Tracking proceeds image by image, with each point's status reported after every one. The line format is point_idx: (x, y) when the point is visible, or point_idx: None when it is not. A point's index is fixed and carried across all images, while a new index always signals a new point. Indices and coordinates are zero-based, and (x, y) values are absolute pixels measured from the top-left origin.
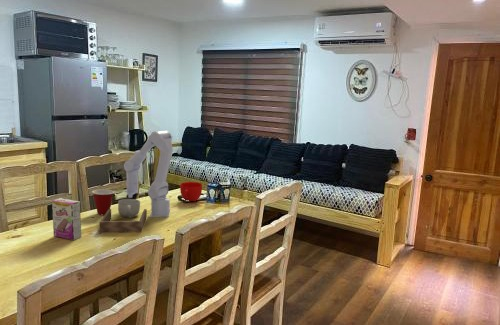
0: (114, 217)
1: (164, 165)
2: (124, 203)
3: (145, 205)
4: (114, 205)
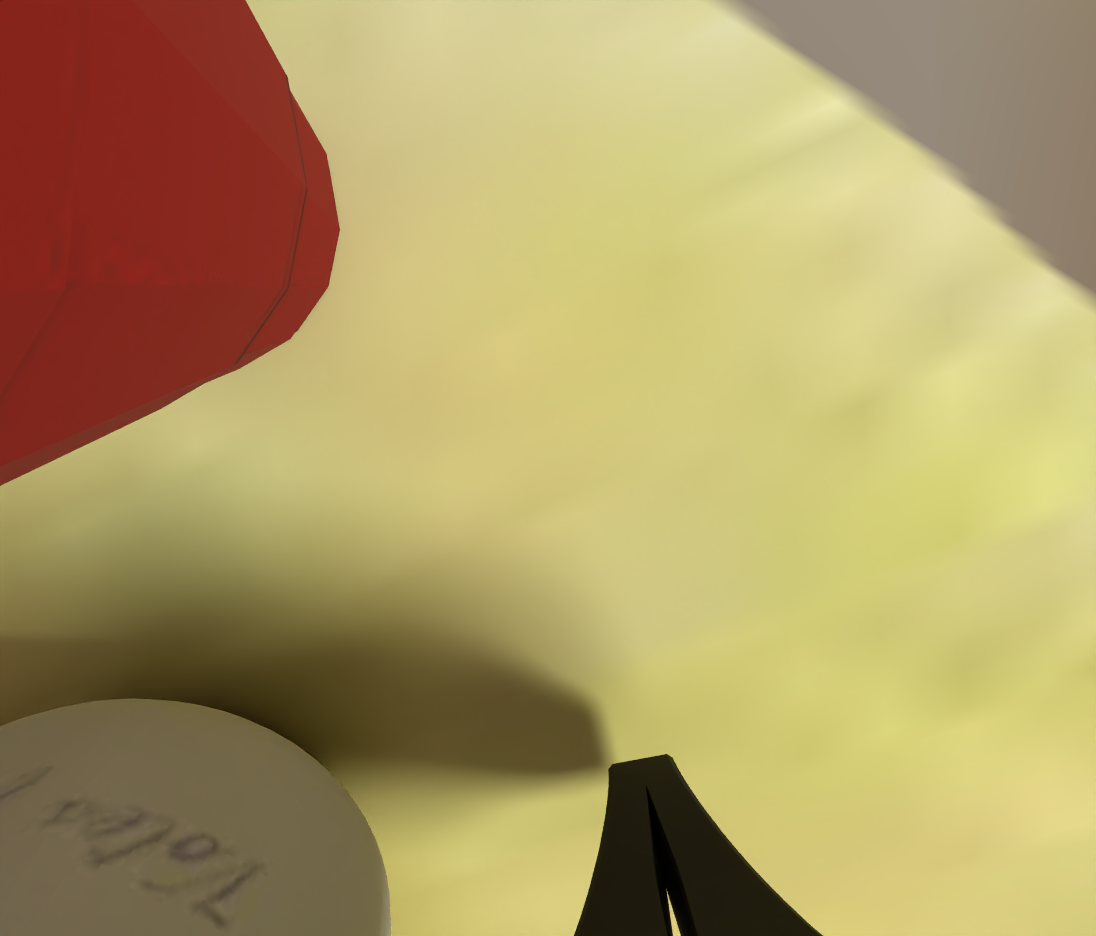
0: (11, 595)
1: None
2: (190, 929)
3: (964, 888)
4: (931, 205)
